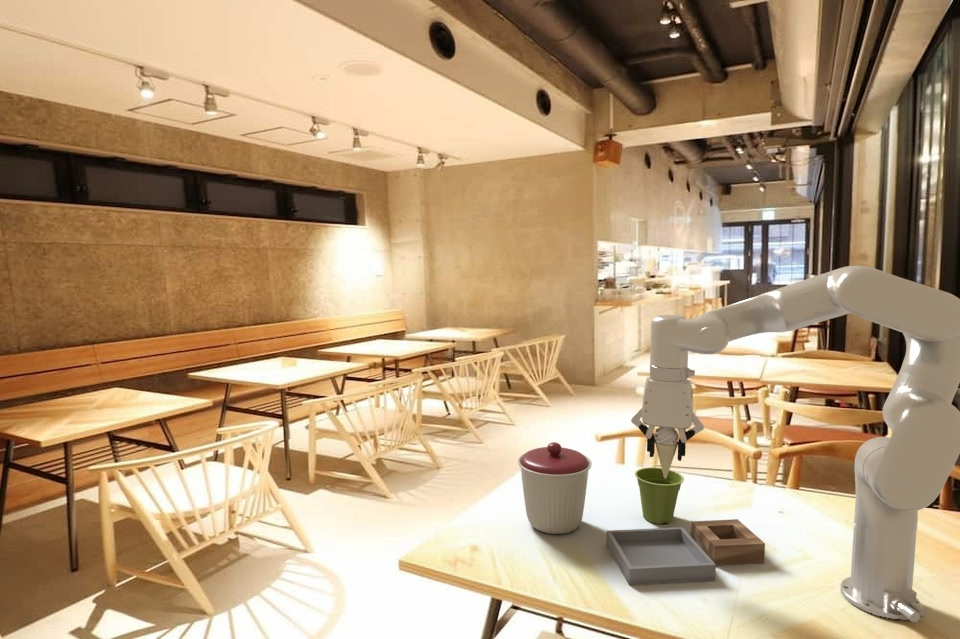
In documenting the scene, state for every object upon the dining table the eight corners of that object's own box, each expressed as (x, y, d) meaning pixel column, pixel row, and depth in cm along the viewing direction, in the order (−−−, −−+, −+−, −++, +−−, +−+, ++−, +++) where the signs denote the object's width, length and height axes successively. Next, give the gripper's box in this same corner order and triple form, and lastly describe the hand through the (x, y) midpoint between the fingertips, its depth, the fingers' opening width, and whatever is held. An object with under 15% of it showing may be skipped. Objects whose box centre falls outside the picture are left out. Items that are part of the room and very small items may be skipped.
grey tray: (715, 580, 113) (715, 564, 113) (629, 585, 112) (629, 569, 112) (682, 541, 129) (682, 527, 129) (606, 545, 128) (606, 530, 128)
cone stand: (764, 563, 120) (764, 543, 119) (713, 565, 119) (714, 545, 118) (736, 537, 131) (737, 519, 130) (690, 539, 130) (691, 521, 129)
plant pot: (686, 531, 134) (687, 486, 133) (635, 527, 136) (636, 483, 135) (679, 509, 146) (680, 468, 144) (632, 506, 148) (633, 465, 147)
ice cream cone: (669, 472, 122) (671, 406, 121) (682, 481, 117) (684, 412, 116) (648, 474, 121) (650, 407, 119) (661, 483, 116) (662, 414, 115)
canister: (598, 542, 129) (599, 455, 127) (521, 543, 129) (520, 456, 127) (583, 507, 147) (583, 431, 145) (515, 508, 147) (515, 432, 145)
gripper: (712, 373, 117) (708, 456, 119) (629, 367, 123) (627, 446, 125) (711, 380, 110) (708, 468, 112) (624, 374, 117) (622, 457, 119)
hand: (665, 456), depth 119 cm, fingers closed on ice cream cone, 5 cm apart
